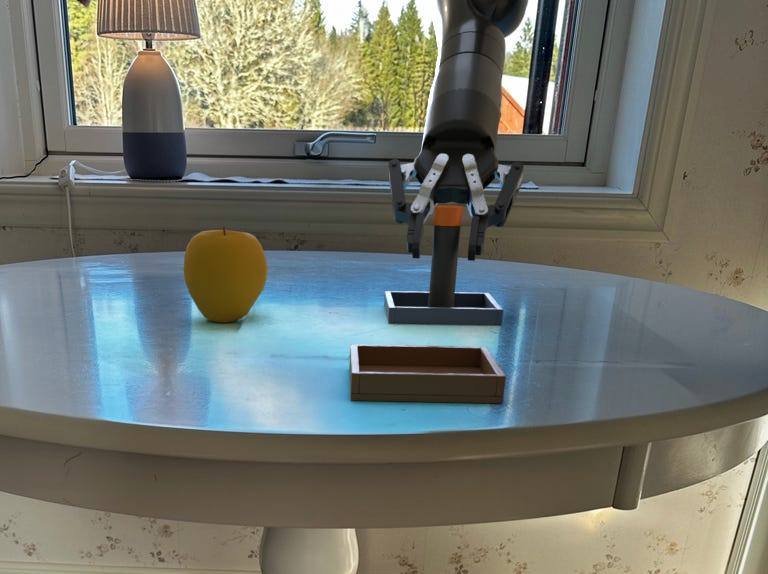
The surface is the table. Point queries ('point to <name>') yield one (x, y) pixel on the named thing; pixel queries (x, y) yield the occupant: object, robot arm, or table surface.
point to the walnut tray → (425, 374)
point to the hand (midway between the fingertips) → (443, 253)
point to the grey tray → (442, 309)
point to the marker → (445, 255)
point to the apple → (224, 273)
